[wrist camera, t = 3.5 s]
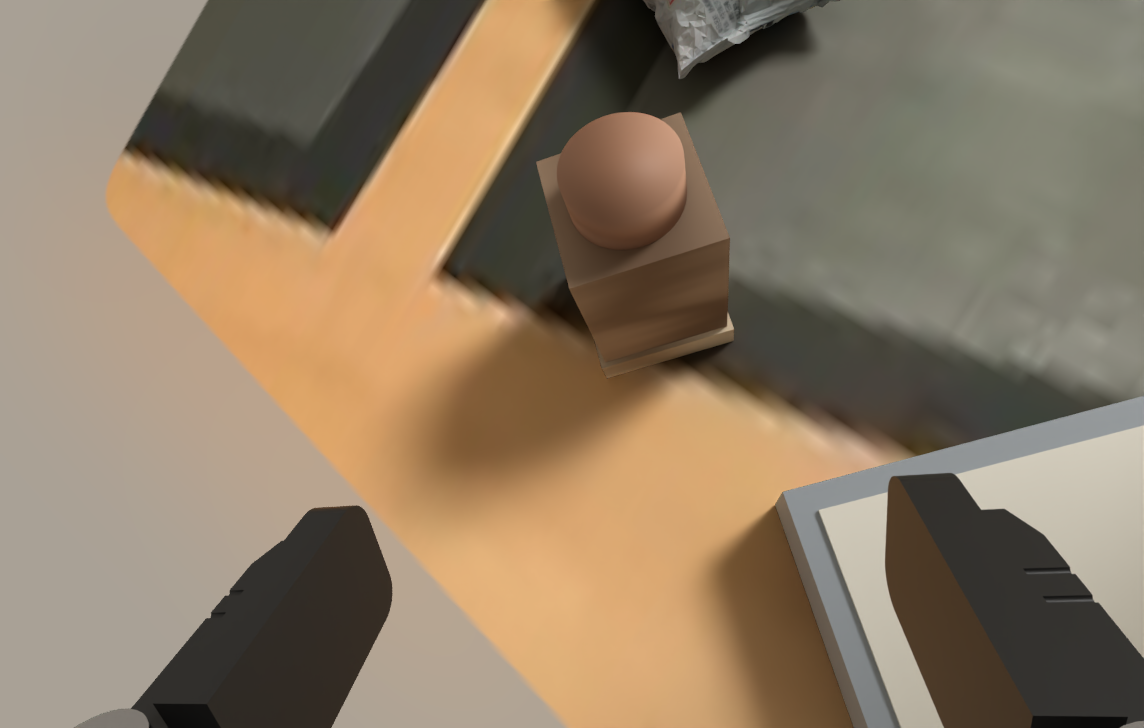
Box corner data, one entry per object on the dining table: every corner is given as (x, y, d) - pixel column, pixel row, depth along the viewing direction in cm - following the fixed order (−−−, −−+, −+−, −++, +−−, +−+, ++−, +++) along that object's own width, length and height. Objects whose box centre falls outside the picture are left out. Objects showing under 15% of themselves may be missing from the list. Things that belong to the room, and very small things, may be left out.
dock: (1131, 410, 21) (1198, 380, 18) (1339, 750, 17) (1465, 782, 14) (774, 504, 22) (783, 491, 19) (893, 838, 18) (925, 883, 16)
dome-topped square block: (694, 232, 27) (682, 66, 18) (733, 340, 25) (740, 209, 16) (577, 270, 27) (514, 125, 19) (606, 378, 25) (550, 270, 17)
